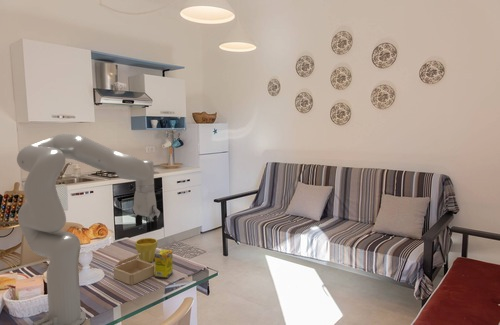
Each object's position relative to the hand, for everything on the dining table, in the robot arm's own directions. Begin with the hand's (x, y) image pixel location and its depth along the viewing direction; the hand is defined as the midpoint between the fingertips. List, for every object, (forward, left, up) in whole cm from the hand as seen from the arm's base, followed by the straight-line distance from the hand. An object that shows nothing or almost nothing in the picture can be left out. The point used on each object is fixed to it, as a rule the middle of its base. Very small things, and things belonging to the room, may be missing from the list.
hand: (146, 227), depth 150 cm
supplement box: (+5, -5, -23) cm, 24 cm away
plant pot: (+12, +15, -23) cm, 30 cm away
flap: (-3, +10, -16) cm, 19 cm away
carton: (-3, +5, -23) cm, 23 cm away
